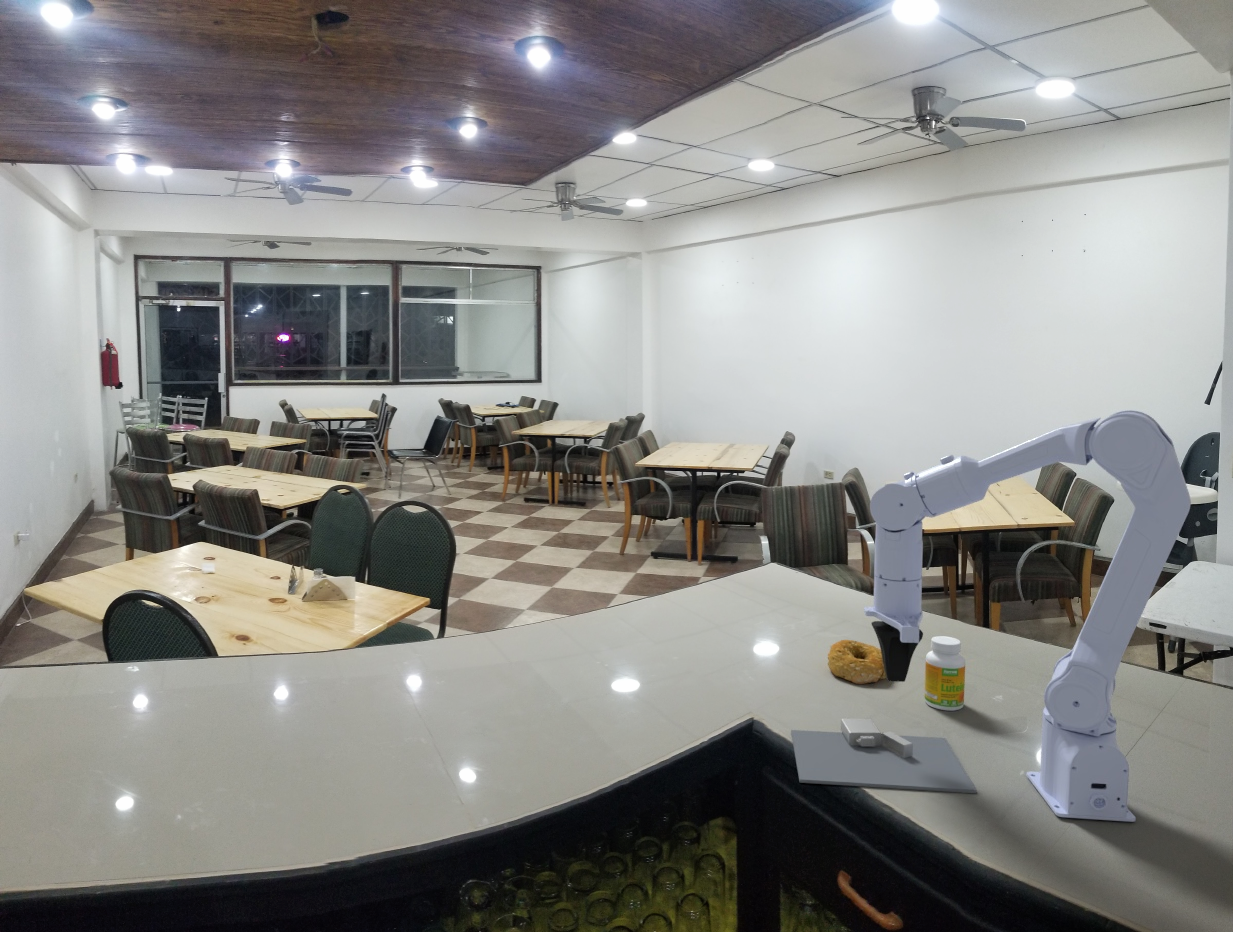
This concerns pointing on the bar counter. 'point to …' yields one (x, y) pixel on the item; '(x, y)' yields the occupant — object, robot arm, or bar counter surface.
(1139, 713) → the bar counter surface
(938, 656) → the supplement bottle
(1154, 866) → the bar counter surface
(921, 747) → the mat
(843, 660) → the bagel
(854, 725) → the lighter
